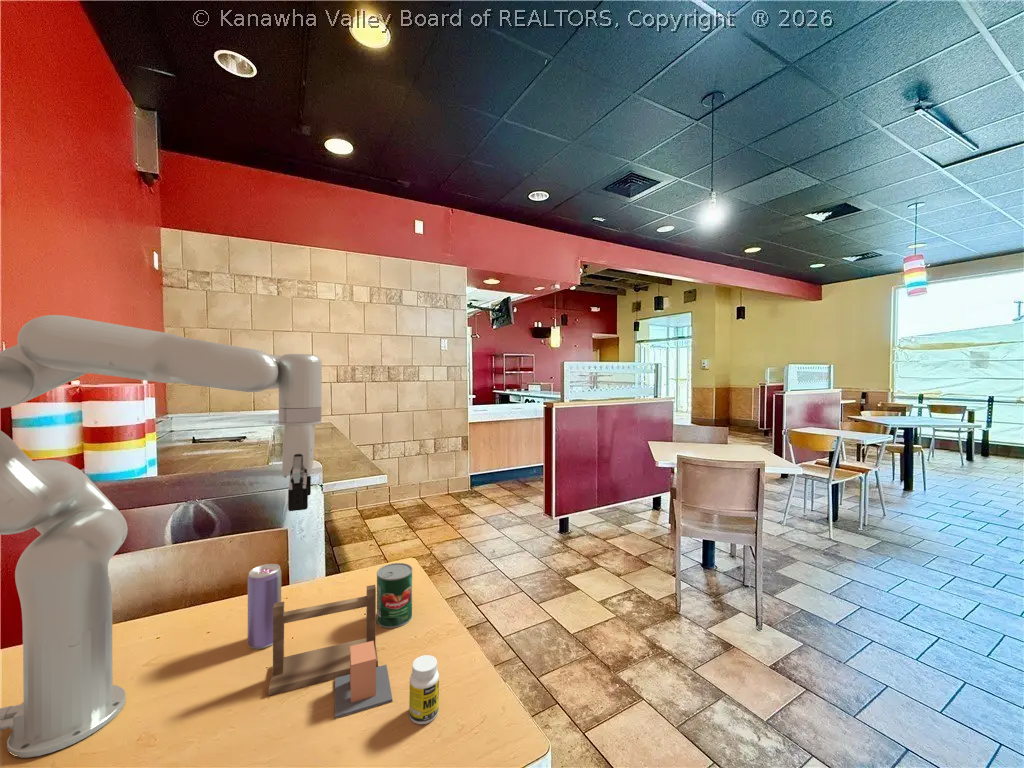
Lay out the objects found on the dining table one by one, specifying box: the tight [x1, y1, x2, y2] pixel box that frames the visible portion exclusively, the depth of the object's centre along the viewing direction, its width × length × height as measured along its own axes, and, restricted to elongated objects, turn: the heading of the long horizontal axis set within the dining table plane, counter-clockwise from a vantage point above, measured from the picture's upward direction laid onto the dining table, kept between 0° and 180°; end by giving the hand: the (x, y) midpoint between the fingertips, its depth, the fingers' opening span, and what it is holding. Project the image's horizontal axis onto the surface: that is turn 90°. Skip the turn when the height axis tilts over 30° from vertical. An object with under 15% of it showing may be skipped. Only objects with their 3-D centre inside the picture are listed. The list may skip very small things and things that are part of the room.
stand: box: [268, 584, 379, 696], centre depth 77 cm, size 18×8×14 cm, turn 114°
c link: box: [350, 641, 376, 702], centre depth 71 cm, size 4×5×6 cm
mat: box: [334, 664, 393, 719], centre depth 71 cm, size 9×9×1 cm
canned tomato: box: [376, 562, 413, 629], centre depth 93 cm, size 8×8×11 cm
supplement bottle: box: [408, 654, 440, 725], centre depth 66 cm, size 5×5×8 cm
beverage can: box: [247, 563, 282, 650], centre depth 84 cm, size 6×6×15 cm
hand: (300, 502), depth 80 cm, fingers open, 9 cm apart
